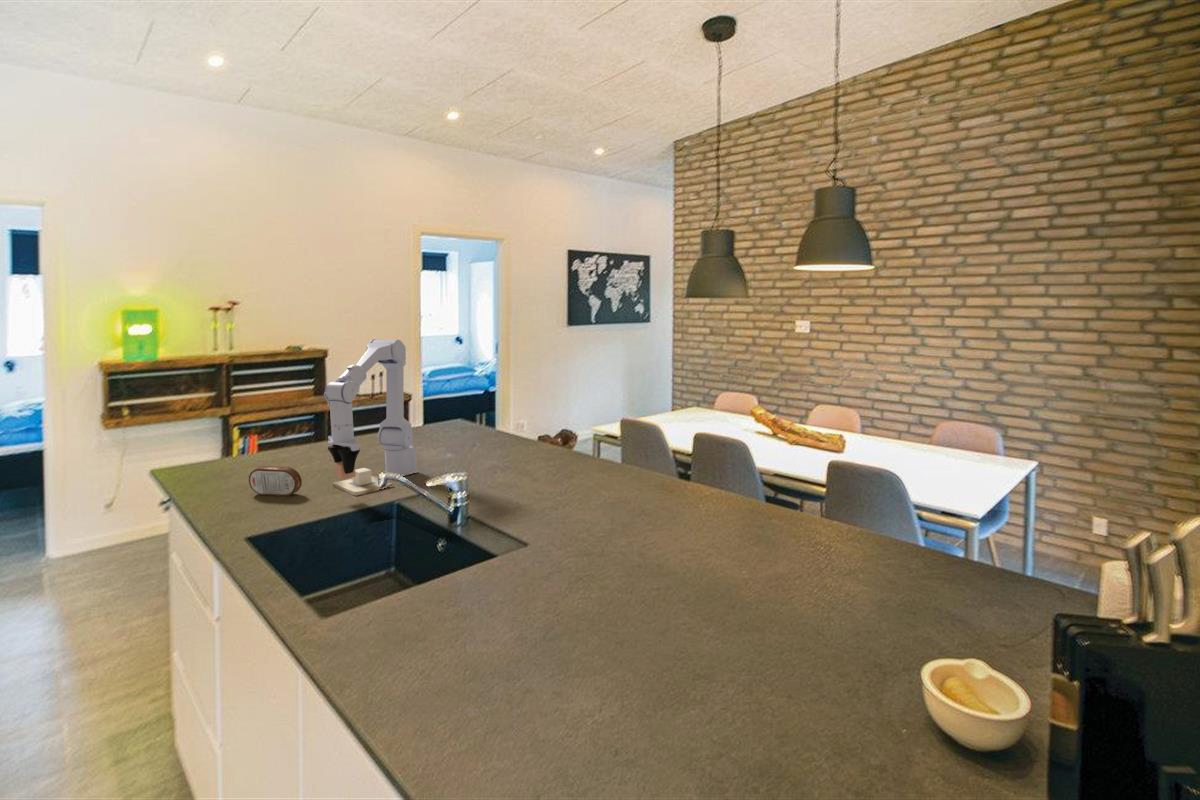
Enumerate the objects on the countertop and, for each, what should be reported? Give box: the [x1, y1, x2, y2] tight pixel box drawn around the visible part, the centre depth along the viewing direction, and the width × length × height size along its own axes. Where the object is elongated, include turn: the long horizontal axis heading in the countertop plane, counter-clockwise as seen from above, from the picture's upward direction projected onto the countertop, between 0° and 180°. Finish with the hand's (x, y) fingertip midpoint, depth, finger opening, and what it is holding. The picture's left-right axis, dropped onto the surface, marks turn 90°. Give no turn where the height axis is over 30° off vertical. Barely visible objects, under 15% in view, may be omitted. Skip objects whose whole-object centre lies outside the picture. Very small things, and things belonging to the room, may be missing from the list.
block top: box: [334, 462, 356, 480], centre depth 175 cm, size 4×4×4 cm
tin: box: [248, 465, 303, 497], centre depth 179 cm, size 15×3×8 cm, turn 84°
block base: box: [352, 467, 373, 486], centre depth 188 cm, size 4×4×4 cm
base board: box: [332, 475, 394, 497], centre depth 188 cm, size 12×14×1 cm
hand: (345, 471), depth 175 cm, fingers closed on block top, 4 cm apart
